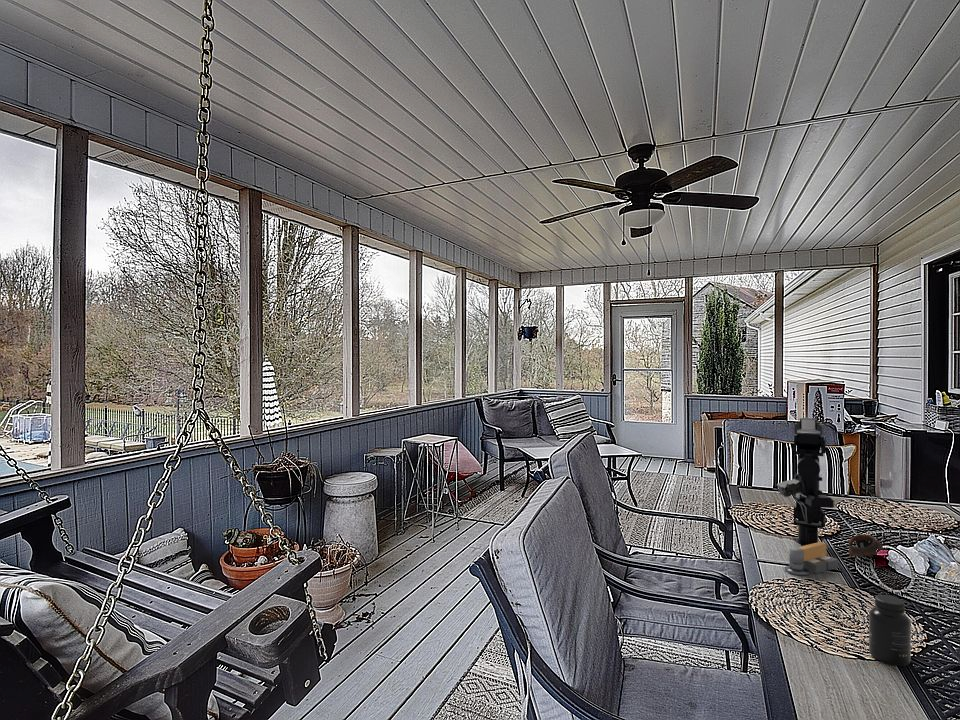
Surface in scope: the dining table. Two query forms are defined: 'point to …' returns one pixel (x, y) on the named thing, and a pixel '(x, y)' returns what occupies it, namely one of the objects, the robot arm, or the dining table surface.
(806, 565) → the tile
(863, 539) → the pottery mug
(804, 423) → the robot arm
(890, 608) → the supplement bottle
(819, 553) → the bar
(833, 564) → the tile
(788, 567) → the gray flanged disc
